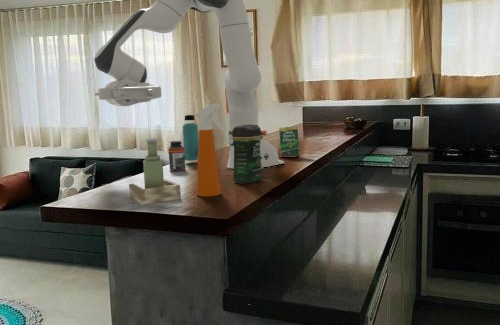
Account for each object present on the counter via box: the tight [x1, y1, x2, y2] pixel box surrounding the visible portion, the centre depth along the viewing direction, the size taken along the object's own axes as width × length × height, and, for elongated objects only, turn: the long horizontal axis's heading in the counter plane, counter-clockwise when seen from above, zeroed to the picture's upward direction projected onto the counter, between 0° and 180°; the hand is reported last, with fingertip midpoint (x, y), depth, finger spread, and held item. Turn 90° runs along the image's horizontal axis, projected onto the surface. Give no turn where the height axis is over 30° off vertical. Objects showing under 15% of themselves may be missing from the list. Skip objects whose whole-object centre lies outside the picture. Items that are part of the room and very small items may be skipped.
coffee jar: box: [232, 124, 263, 185], centre depth 159 cm, size 10×8×19 cm
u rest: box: [128, 178, 182, 206], centre depth 141 cm, size 11×11×4 cm
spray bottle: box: [194, 103, 225, 198], centre depth 141 cm, size 7×11×26 cm, turn 49°
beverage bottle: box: [182, 114, 199, 162], centre depth 204 cm, size 6×7×20 cm
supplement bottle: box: [168, 140, 186, 173], centre depth 187 cm, size 6×6×11 cm
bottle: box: [142, 137, 165, 189], centre depth 140 cm, size 5×5×16 cm
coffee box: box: [278, 126, 300, 157], centre depth 209 cm, size 8×3×13 cm, turn 86°
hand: (136, 92), depth 155 cm, fingers open, 8 cm apart
